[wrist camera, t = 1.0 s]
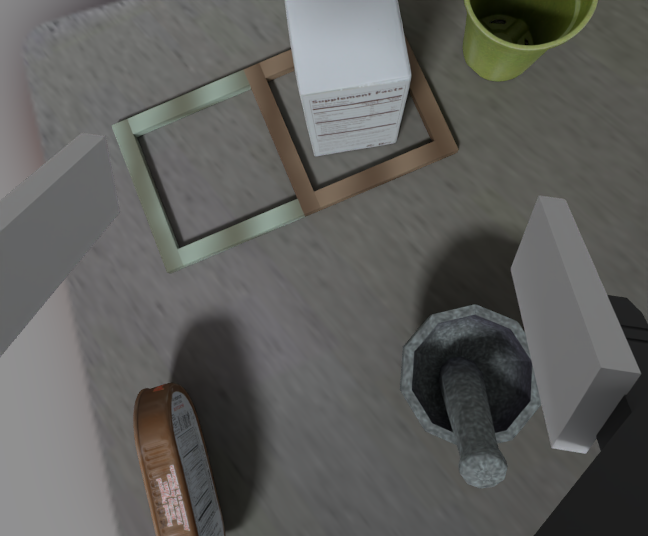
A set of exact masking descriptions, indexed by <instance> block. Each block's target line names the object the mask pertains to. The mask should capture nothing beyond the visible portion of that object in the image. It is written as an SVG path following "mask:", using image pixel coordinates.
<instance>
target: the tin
mask: <svg viewBox="0 0 648 536" xmlns="http://www.w3.org/2000/svg"><path fill="white" fill-rule="evenodd" d="M133 425H134V437H135V445H136V450H137V455H138V459H139V463H140V468H141V472H142V476H143V481H144V485H145V490H146V493H147V498H148V502H149V507H150V511H151V516H152V520H153V524H154V529H155V534H156V536H225V528H224V522H223V517H222V512H221V508H220V504H219V500H218V495H217V491H216V487H215V483H214V478H213V474H212V470H211V466H210V462H209V458H208V454H207V450H206V446H205V442H204V438H203V434H202V430H201V426H200V423H199V419H198V416H197V413H196V410H195V408H194V405H193V403H192V401H191V399H190V397H189V395H188V393H187V392H186V390H185V389H184V388H183V387H182V386H180V385H178V384H175V383H168V384H164V385H161V386H158V387H154V388H151V389H149V388H145V389H143V390H141V391H140V392H139V394H138V396H137V398H136V401H135V405H134V415H133Z"/></svg>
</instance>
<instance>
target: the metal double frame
mask: <svg viewBox="0 0 648 536" xmlns="http://www.w3.org/2000/svg"><path fill="white" fill-rule="evenodd" d="M404 37H405V43H406V48H407V53H408V59H409V64H410V70H411V82H410V87H409V92H410V95H411V97H412V99H413V101H414V103H415V105H416V108H417V110H418V112H419V114H420V116H421V118H422V121H423V123H424V125H425V127H426V129H427V131H428V134H429V136H430V138H431V140H432V142H431V143H428V144H426V145H424V146H421V147H419V148H417V149H414V150H412V151H409V152H407V153H405V154H402V155H400V156H398V157H395V158H393V159H390V160H388V161H386V162H383V163H381V164H379V165H376V166H374V167H371V168H369V169H367V170H364V171H362V172H360V173H357V174H355V175H353V176H350V177H348V178H345V179H343V180H341V181H338V182H336V183H334V184H331V185H329V186H326V187H324V188H322V189H319V190H317V191H315V192H314V191H313V188H312V186H311V184H310V181H309V179H308V176H307V174H306V172H305V169H304V167H303V165H302V162H301V160H300V158H299V155H298V153H297V151H296V148H295V146H294V144H293V141H292V139H291V136H290V134H289V132H288V129H287V127H286V125H285V122H284V120H283V118H282V115H281V113H280V111H279V108H278V106H277V104H276V101H275V99H274V96H273V94H272V92H271V89H270V87H269V85H268V82H269V81H271V80H273V79H276V78H278V77H280V76H283V75H285V74H287V73H290V72H292V71H295V68H294V63H293V57H292V51H291V50H288V51H286V52H284V53H281V54H279V55H277V56H274V57H272V58H270V59H267V60H265V61H263V62H260V63H258V64H255V65H253V66H251V67H248V68H246V69H244V70H241V71H239V72H237V73H234V74H232V75H230V76H227V77H225V78H222V79H220V80H218V81H215V82H213V83H211V84H208V85H206V86H204V87H201V88H199V89H197V90H194V91H192V92H189V93H187V94H185V95H182V96H180V97H178V98H175V99H173V100H171V101H168V102H166V103H164V104H161V105H159V106H156V107H154V108H152V109H149V110H147V111H145V112H142V113H140V114H138V115H135V116H133V117H131V118H128V119H126V120H123V121H121V122H119V123H116V124H114V125H112V128H113V131H114V133H115V136H116V139H117V141H118V144H119V147H120V149H121V152H122V155H123V157H124V160H125V162H126V165H127V168H128V170H129V173H130V176H131V178H132V181H133V184H134V186H135V189H136V192H137V194H138V197H139V199H140V202H141V205H142V207H143V210H144V213H145V215H146V218H147V221H148V223H149V226H150V229H151V231H152V234H153V236H154V239H155V242H156V244H157V247H158V250H159V252H160V255H161V258H162V260H163V263H164V266H165V268H166V271H167V273H173V272H175V271H178V270H180V269H182V268H185V267H187V266H189V265H192V264H194V263H197V262H199V261H201V260H204V259H206V258H208V257H211V256H213V255H216V254H218V253H220V252H223V251H225V250H227V249H230V248H232V247H235V246H237V245H239V244H242V243H244V242H246V241H249V240H251V239H254V238H256V237H258V236H261V235H263V234H265V233H268V232H270V231H273V230H275V229H277V228H280V227H282V226H284V225H287V224H289V223H292V222H294V221H296V220H299V219H301V218H303V217H306V216H308V215H311V214H313V213H315V212H318V211H320V210H322V209H325V208H327V207H329V206H332V205H334V204H337V203H339V202H341V201H344V200H346V199H348V198H351V197H353V196H356V195H358V194H360V193H363V192H365V191H367V190H370V189H372V188H375V187H377V186H379V185H382V184H384V183H386V182H389V181H391V180H394V179H396V178H398V177H401V176H403V175H405V174H408V173H410V172H413V171H415V170H417V169H420V168H422V167H424V166H427V165H429V164H432V163H434V162H436V161H439V160H441V159H443V158H446V157H448V156H451V155H453V154H455V153H457V152H458V150H459V149H458V147H457V145H456V143H455V141H454V139H453V136H452V134H451V132H450V130H449V128H448V126H447V124H446V122H445V119H444V117H443V115H442V113H441V111H440V109H439V107H438V104H437V102H436V100H435V98H434V96H433V94H432V92H431V89H430V87H429V85H428V83H427V81H426V79H425V77H424V74H423V72H422V70H421V68H420V66H419V64H418V62H417V60H416V57H415V55H414V53H413V51H412V49H411V47H410V45H409V42H408V40H407V38H406V36H405V34H404ZM250 89H252V91H253V94H254V96H255V98H256V101H257V103H258V106H259V108H260V110H261V113H262V115H263V118H264V120H265V122H266V125H267V127H268V129H269V132H270V134H271V137H272V139H273V141H274V144H275V146H276V149H277V151H278V153H279V156H280V158H281V160H282V163H283V165H284V168H285V170H286V172H287V175H288V177H289V179H290V182H291V184H292V187H293V189H294V191H295V194H296V196H297V199H296V200H293V201H291V202H288V203H286V204H284V205H281V206H279V207H277V208H274V209H272V210H270V211H267V212H265V213H262V214H260V215H258V216H255V217H253V218H251V219H248V220H246V221H243V222H241V223H239V224H236V225H234V226H232V227H229V228H227V229H224V230H222V231H220V232H217V233H215V234H213V235H210V236H208V237H205V238H203V239H201V240H198V241H196V242H194V243H191V244H189V245H187V246H184V247H182V248H179V246H178V243H177V240H176V238H175V235H174V233H173V230H172V227H171V225H170V222H169V220H168V217H167V214H166V212H165V209H164V207H163V204H162V201H161V199H160V196H159V194H158V191H157V188H156V186H155V183H154V181H153V178H152V175H151V173H150V170H149V168H148V165H147V162H146V160H145V157H144V155H143V152H142V149H141V147H140V144H139V142H138V139H137V137H139V136H141V135H144V134H146V133H148V132H151V131H153V130H155V129H158V128H160V127H162V126H165V125H167V124H170V123H172V122H174V121H177V120H179V119H181V118H184V117H186V116H188V115H191V114H193V113H195V112H198V111H200V110H203V109H205V108H207V107H210V106H212V105H214V104H217V103H219V102H221V101H224V100H226V99H229V98H231V97H233V96H236V95H238V94H240V93H243V92H245V91H247V90H250Z"/></svg>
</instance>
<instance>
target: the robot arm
mask: <svg viewBox="0 0 648 536" xmlns="http://www.w3.org/2000/svg"><path fill="white" fill-rule="evenodd" d="M119 213H120V208H119V203H118V198H117V192H116V187H115V182H114V177H113V171H112V166H111V161H110V156H109V150H108V145H107V140H106V136H102V135H95V134H87V133H81V134H80V135H78V136H77V137H76V138H75V139H74V140H72V141H71V142H70V143H69V144H68V145H66V146H65V147H64V148H63V149H62V150H60V151H59V152H58V153H57V154H56V155H54V156H53V157H52V158H51V159H50V160H48V161H47V162H46V163H45V164H44V165H42V166H41V167H40V168H39V169H38V170H36V171H35V172H34V173H33V174H31V175H30V176H29V177H28V178H27V179H25V180H24V181H23V182H22V183H21V184H19V185H18V186H17V187H16V188H15V189H14V190H12V191H11V192H10V193H9V194H7V195H6V196H5V197H4V198H3V199H1V200H0V356H1V355H2V354H3V353H4V352H5V351H6V349H7V348H8V347H9V346H10V344H11V343H12V342H13V341H14V340H15V339H16V337H17V336H18V335H19V334H20V332H21V331H22V330H23V329H24V328H25V326H26V325H27V324H28V323H29V321H30V320H31V319H32V318H33V317H34V315H35V314H36V313H37V312H38V311H39V309H40V308H41V307H42V306H43V305H44V303H45V302H46V301H47V300H48V299H49V297H50V296H51V295H52V294H53V293H54V291H55V290H56V289H57V288H58V287H59V285H60V284H61V283H62V282H63V281H64V279H65V278H66V277H67V276H68V275H69V273H70V272H71V271H72V270H73V268H74V267H75V266H76V265H77V264H78V262H79V261H80V260H81V259H82V258H83V256H84V255H85V254H86V253H87V252H88V250H89V249H90V248H91V247H92V246H93V244H94V243H95V242H96V241H97V239H98V238H99V237H100V236H101V235H102V233H103V232H104V231H105V230H106V229H107V227H108V226H109V225H110V224H111V223H112V221H113V220H114V219H115V218H116V217H117V215H118V214H119ZM511 273H512V277H513V282H514V286H515V291H516V295H517V299H518V304H519V308H520V312H521V317H522V321H523V325H524V330H525V334H526V339H527V343H528V347H529V352H530V356H531V360H532V365H533V369H534V373H535V378H536V382H537V387H538V391H539V395H540V400H541V404H542V408H543V413H544V417H545V421H546V426H547V430H548V434H549V439H550V443H551V448H555V449H561V450H567V451H573V452H579V453H585V454H586V453H587V451H588V450H589V448H590V447H591V446H592V444H593V443H594V441H595V440H596V438H597V440H598V443H599V447H600V450H601V452H600V453H599V454H598V456H597V457H596V458H595V459H594V461H593V462H592V463H591V464H590V466H589V467H588V468H587V469H586V471H585V472H584V473H583V474H582V476H581V477H580V478H579V480H578V481H577V482H576V483H575V485H574V486H573V487H572V488H571V490H570V491H569V492H568V493H567V495H566V496H565V497H564V498H563V500H562V501H561V502H560V503H559V505H558V506H557V507H556V508H555V510H554V511H553V512H552V514H551V515H550V516H549V517H548V519H547V520H546V521H545V522H544V524H543V525H542V526H541V527H540V529H539V530H538V531H537V532H536V534H535V535H534V536H648V324H647V322H646V320H645V318H644V316H643V314H642V312H640V311H639V310H638V309H637V308H636V307H635V306H634V305H633V304H632V303H631V302H630V301H629V300H628V299H627V298H624V297H617V296H610V295H607V294H606V291H605V289H604V287H603V284H602V282H601V280H600V278H599V275H598V273H597V271H596V268H595V266H594V264H593V261H592V259H591V257H590V255H589V252H588V250H587V248H586V245H585V243H584V241H583V239H582V236H581V234H580V232H579V229H578V227H577V225H576V222H575V220H574V218H573V216H572V213H571V211H570V209H569V206H568V204H567V202H566V199H561V198H554V197H546V196H538V199H537V201H536V204H535V207H534V209H533V212H532V214H531V217H530V220H529V222H528V225H527V227H526V230H525V233H524V235H523V238H522V240H521V243H520V245H519V248H518V251H517V253H516V256H515V258H514V261H513V264H512V266H511Z"/></svg>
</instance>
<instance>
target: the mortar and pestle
mask: <svg viewBox="0 0 648 536" xmlns="http://www.w3.org/2000/svg"><path fill="white" fill-rule="evenodd" d="M400 391H401V393H402V394H403V396H404V397H405V399H406V401H407V402H408V404H409V406H410V407H411V409H412V411H413V412H414V414H415V416H416V417H417V419H418V420H419V422H420V424H421V425H422V427H423V429H424V430H425V431H426V432H428V433H430V434H432V435H435V436H437V437H439V438H442V439H444V440H446V441H449V442H451V443H453V444H455V445H457V447H458V450H459V454H460V462H459V472H460V474H461V475H462V477H463V478H464V480H465V481H466V483H467V484H470V485H472V486H475V487H478V488H487V487H494V486H496V485H497V484H498V483H500V482H501V481H502V480H504V479H505V475H506V471H507V463H506V460H505V458H504V457H503V455H502V453H501V452H500V450H498V445H497V443H501V442H505V441H510V440H512V439H513V438H514V437H515V436H516V435H517V433H518V432H519V431H520V430H521V429H522V427H523V426H524V425H525V424H526V423H527V421H528V420H529V419H530V418H531V416H532V415H533V414H534V413H535V412H536V410H537V409H538V408H539V407H540V406H541V400H540V395H539V391H538V387H537V382H536V378H535V373H534V369H533V365H532V360H531V356H530V352H529V347H528V343H527V339H526V334H525V332H524V330H523V329H522V327H521V326H520V324H519V323H518V321H515V320H513V319H511V318H508V317H506V316H503V315H501V314H498V313H496V312H493V311H491V310H489V309H486V308H484V307H481V306H479V305H476V304H474V305H470V306H465V307H461V308H457V309H453V310H448V311H444V312H440V313H436V314H431V315H430V316H429V317H428V318H427V319H426V320H425V321H424V323H423V324H422V325H421V326H420V327H419V329H418V330H417V331H416V332H415V333H414V334H413V336H412V337H411V338H410V339H409V340H408V341H407V343H406V344H405V345H404V346H403V352H402V367H401V382H400Z"/></svg>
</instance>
